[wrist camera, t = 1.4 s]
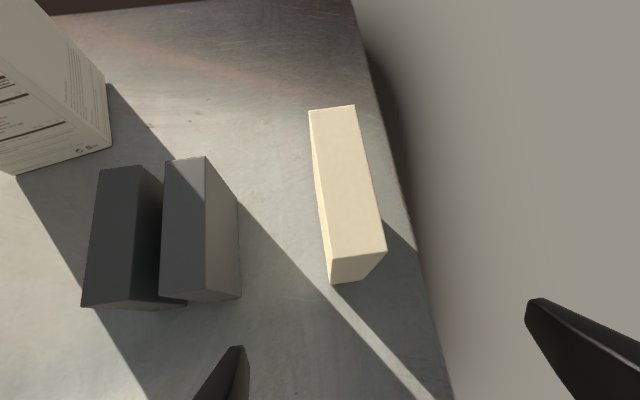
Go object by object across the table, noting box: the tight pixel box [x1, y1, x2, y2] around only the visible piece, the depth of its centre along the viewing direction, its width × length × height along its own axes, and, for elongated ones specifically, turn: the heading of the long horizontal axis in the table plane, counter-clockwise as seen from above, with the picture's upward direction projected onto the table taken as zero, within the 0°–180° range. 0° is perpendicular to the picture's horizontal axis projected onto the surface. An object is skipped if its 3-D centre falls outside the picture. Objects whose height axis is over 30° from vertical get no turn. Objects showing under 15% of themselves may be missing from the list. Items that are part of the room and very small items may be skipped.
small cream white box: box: [309, 105, 388, 285], centre depth 19 cm, size 8×2×10 cm, turn 8°
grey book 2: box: [80, 165, 187, 311], centre depth 20 cm, size 8×2×7 cm, turn 8°
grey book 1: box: [158, 156, 241, 303], centre depth 20 cm, size 8×2×7 cm, turn 8°
